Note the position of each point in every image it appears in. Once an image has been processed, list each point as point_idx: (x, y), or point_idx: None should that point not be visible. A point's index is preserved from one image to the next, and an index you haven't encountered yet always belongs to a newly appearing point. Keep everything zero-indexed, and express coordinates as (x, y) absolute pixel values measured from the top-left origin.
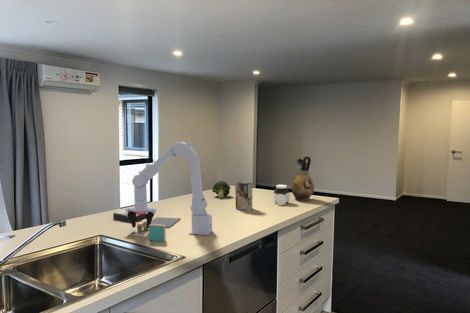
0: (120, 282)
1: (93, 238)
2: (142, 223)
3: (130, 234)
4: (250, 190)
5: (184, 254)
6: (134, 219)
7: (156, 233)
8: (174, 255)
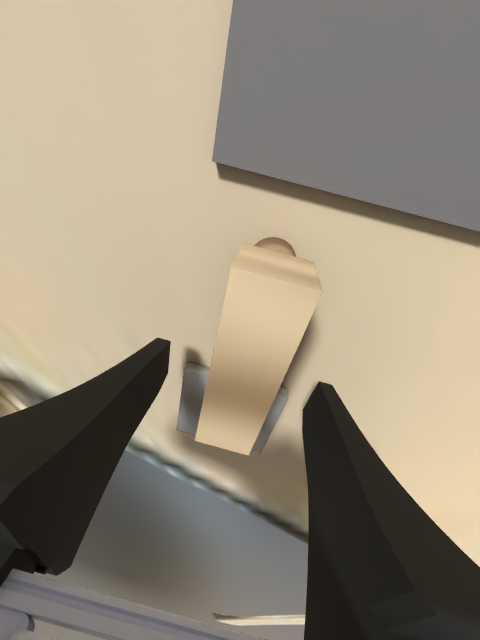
0: (274, 616)
1: None
2: (253, 444)
3: (190, 426)
4: None
5: None
6: (121, 418)
7: None
8: None
